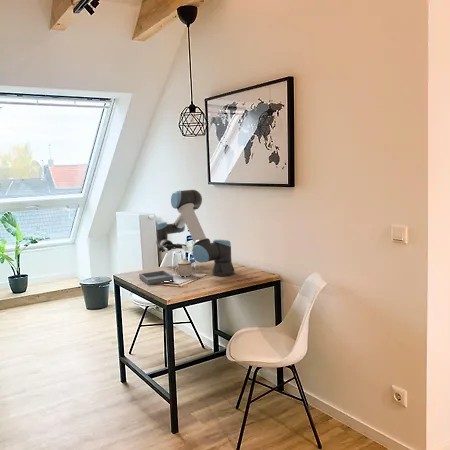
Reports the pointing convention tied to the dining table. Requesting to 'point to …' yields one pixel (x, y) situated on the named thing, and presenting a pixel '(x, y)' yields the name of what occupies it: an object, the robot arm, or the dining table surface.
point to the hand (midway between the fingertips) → (176, 249)
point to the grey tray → (155, 277)
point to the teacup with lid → (184, 268)
